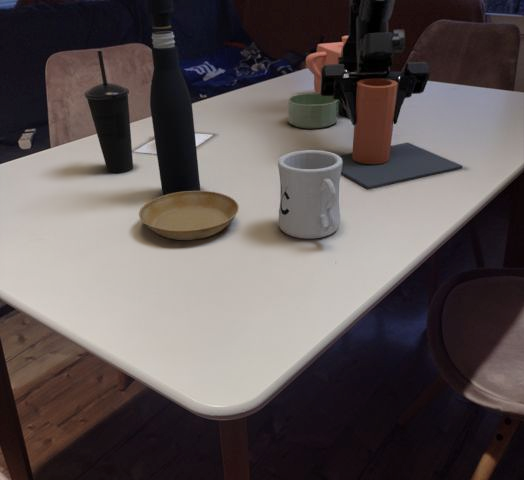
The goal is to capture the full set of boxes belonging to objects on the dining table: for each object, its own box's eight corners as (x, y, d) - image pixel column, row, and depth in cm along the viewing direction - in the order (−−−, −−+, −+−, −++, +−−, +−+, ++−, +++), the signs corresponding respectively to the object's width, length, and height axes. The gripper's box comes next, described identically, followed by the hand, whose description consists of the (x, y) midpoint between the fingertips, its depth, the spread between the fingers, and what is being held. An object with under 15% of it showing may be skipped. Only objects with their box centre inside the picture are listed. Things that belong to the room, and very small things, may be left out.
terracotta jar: (361, 149, 112) (367, 76, 104) (395, 155, 109) (403, 80, 101) (345, 160, 107) (350, 84, 100) (380, 166, 104) (388, 89, 97)
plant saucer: (259, 223, 88) (259, 207, 86) (182, 257, 80) (180, 239, 78) (197, 199, 97) (196, 183, 95) (122, 226, 88) (119, 210, 87)
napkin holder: (182, 156, 115) (179, 126, 111) (132, 151, 118) (127, 122, 115) (214, 134, 126) (211, 106, 123) (167, 131, 129) (163, 103, 126)
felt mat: (407, 144, 116) (407, 142, 116) (462, 168, 104) (462, 165, 104) (319, 162, 109) (319, 159, 109) (367, 189, 98) (368, 186, 97)
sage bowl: (321, 113, 137) (322, 90, 134) (346, 124, 129) (348, 100, 126) (279, 120, 133) (279, 97, 130) (302, 132, 125) (303, 107, 122)
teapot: (295, 95, 152) (295, 35, 144) (372, 87, 157) (376, 28, 148) (324, 114, 136) (326, 48, 128) (408, 104, 141) (415, 39, 133)
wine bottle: (194, 201, 96) (171, -13, 78) (157, 200, 97) (126, -13, 79) (205, 187, 101) (185, -18, 83) (169, 186, 102) (143, -17, 84)
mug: (269, 221, 88) (267, 154, 83) (323, 210, 91) (325, 145, 85) (302, 255, 79) (302, 183, 73) (361, 243, 81) (367, 172, 76)
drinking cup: (145, 161, 113) (127, 46, 101) (134, 175, 107) (114, 54, 95) (107, 161, 113) (85, 47, 102) (94, 175, 107) (69, 55, 96)
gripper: (323, 12, 98) (324, 98, 95) (435, 8, 97) (439, 95, 95) (319, 55, 109) (320, 133, 106) (421, 52, 108) (424, 131, 106)
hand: (374, 123), depth 103 cm, fingers closed on terracotta jar, 7 cm apart
